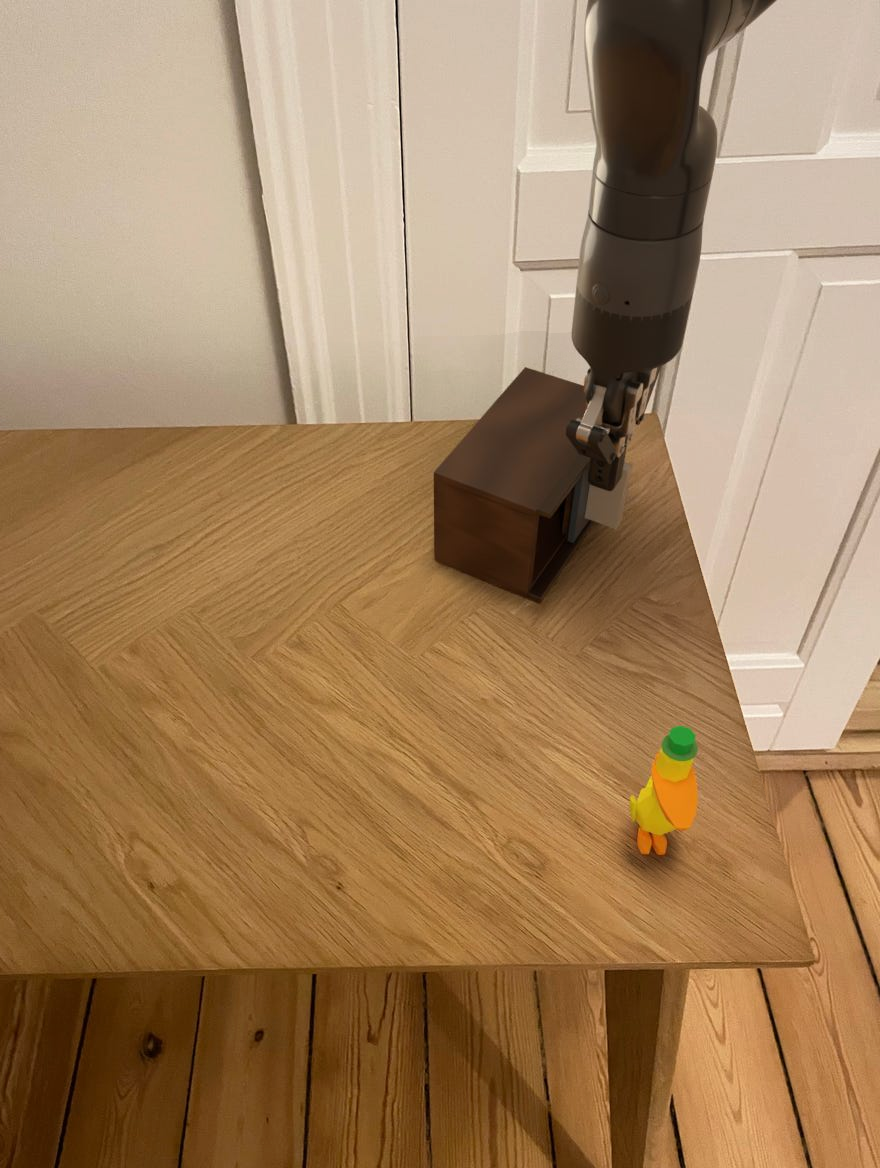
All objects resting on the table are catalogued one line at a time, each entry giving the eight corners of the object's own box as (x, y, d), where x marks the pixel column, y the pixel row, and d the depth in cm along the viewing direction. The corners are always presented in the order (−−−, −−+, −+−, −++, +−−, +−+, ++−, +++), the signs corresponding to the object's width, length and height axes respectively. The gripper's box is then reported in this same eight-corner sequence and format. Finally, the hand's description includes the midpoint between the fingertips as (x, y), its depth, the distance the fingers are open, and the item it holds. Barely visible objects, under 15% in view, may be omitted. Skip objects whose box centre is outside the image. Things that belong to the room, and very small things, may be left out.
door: (640, 502, 87) (656, 427, 80) (605, 555, 83) (619, 480, 76) (603, 489, 88) (615, 413, 82) (566, 540, 84) (577, 465, 78)
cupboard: (617, 491, 89) (634, 399, 81) (539, 604, 81) (550, 514, 73) (518, 455, 93) (525, 364, 85) (434, 560, 84) (433, 470, 77)
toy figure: (685, 890, 64) (726, 797, 55) (631, 890, 65) (662, 798, 55) (669, 800, 69) (704, 701, 59) (618, 801, 69) (645, 701, 60)
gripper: (649, 348, 58) (613, 551, 72) (726, 247, 65) (680, 450, 79) (537, 315, 61) (522, 517, 75) (622, 222, 68) (595, 422, 81)
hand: (604, 482), depth 77 cm, fingers closed
